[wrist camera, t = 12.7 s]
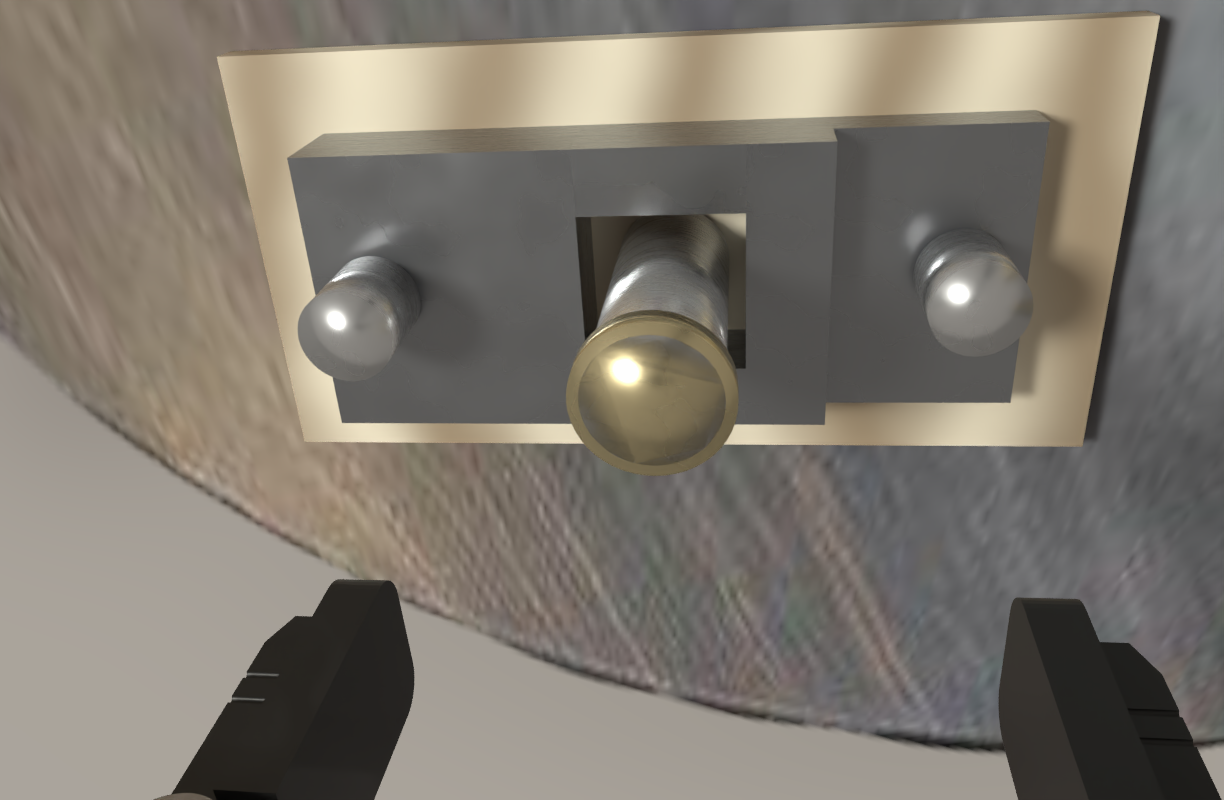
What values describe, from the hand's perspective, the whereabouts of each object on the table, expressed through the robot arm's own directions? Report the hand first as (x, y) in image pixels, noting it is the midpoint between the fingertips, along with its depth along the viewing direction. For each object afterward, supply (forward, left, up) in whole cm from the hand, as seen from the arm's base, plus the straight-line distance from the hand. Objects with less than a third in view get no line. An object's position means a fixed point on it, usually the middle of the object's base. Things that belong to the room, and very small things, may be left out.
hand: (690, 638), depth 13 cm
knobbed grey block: (+2, +3, -23) cm, 23 cm away
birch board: (+2, +3, -23) cm, 23 cm away
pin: (+2, +3, -21) cm, 22 cm away
